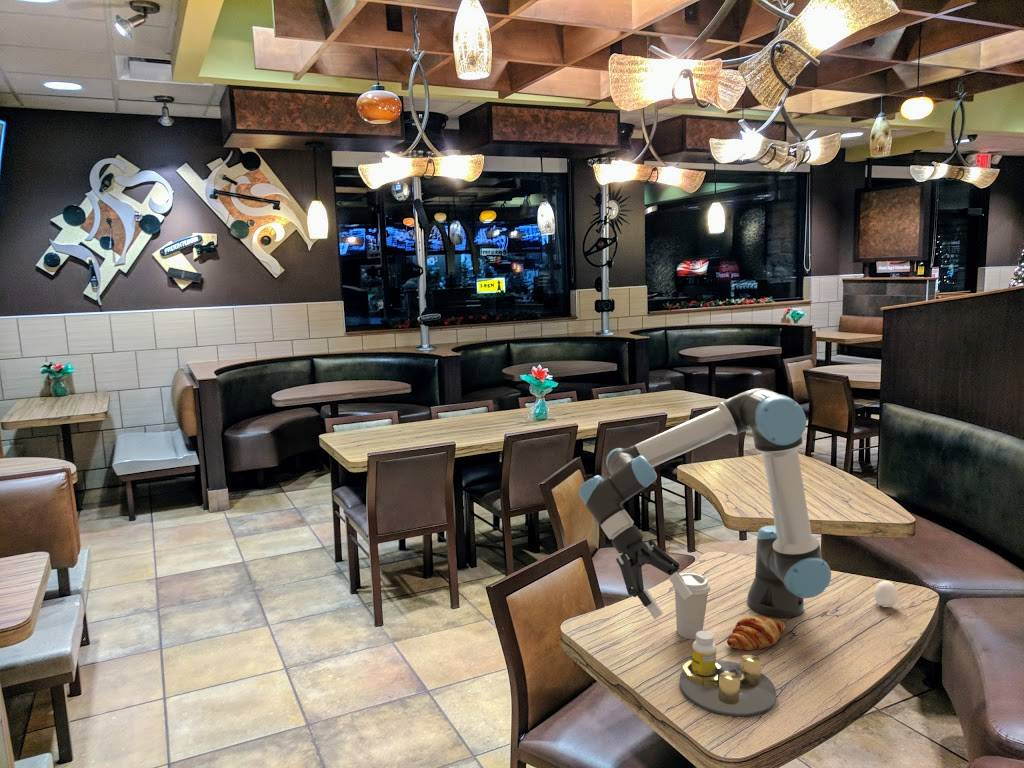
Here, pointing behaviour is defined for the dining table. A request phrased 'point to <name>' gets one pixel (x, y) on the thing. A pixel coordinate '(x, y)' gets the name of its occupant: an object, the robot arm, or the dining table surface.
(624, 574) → the robot arm
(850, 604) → the dining table surface
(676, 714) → the dining table surface
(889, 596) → the egg
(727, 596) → the dining table surface
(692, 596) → the coffee cup
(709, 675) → the supplement bottle
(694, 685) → the carrier plate
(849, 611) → the dining table surface
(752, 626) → the croissant
